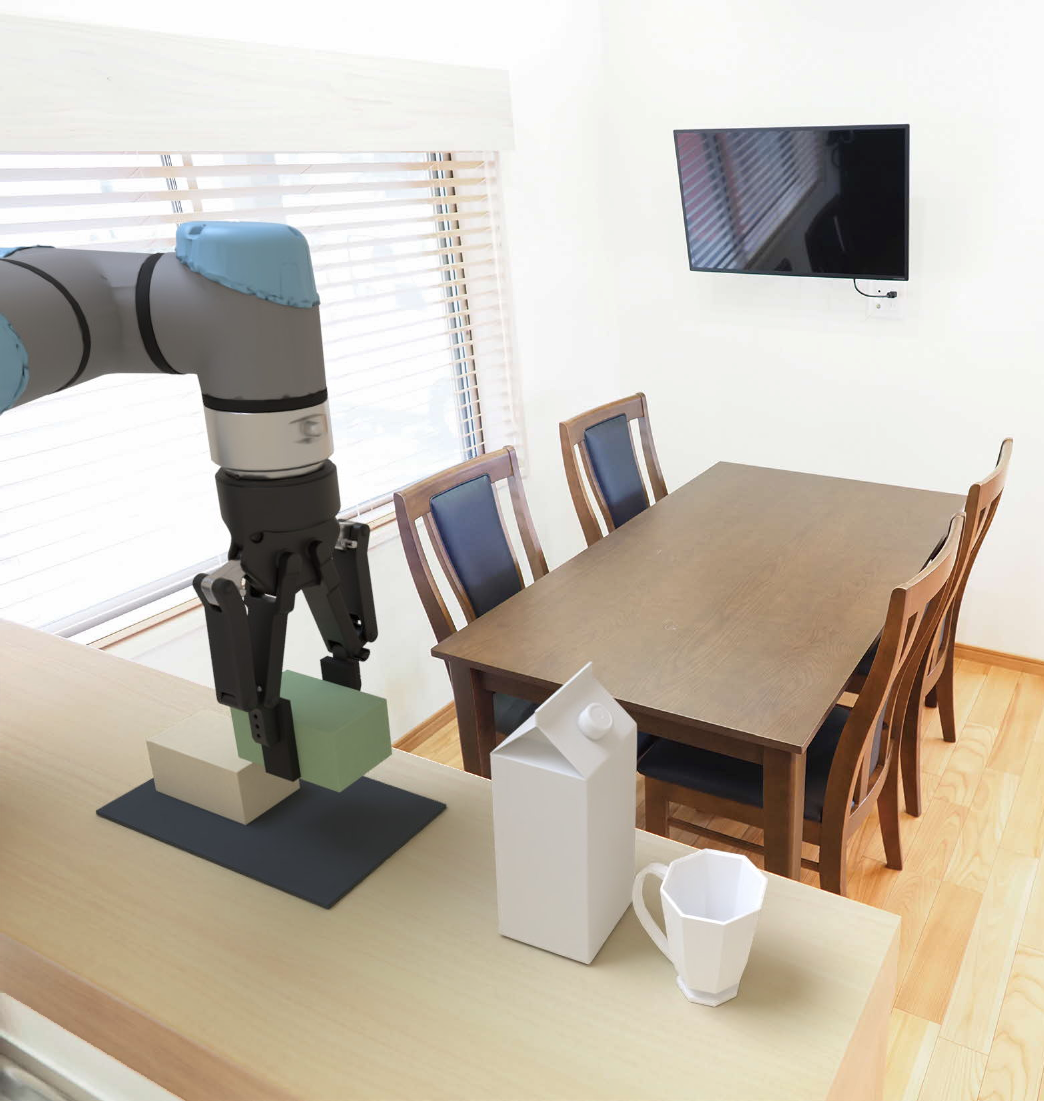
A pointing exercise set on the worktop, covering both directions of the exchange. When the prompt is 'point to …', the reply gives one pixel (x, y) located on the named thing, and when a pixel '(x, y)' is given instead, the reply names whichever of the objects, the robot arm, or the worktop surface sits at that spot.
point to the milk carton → (566, 820)
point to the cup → (705, 920)
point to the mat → (289, 833)
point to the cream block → (213, 769)
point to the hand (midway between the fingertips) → (315, 752)
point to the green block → (326, 731)
